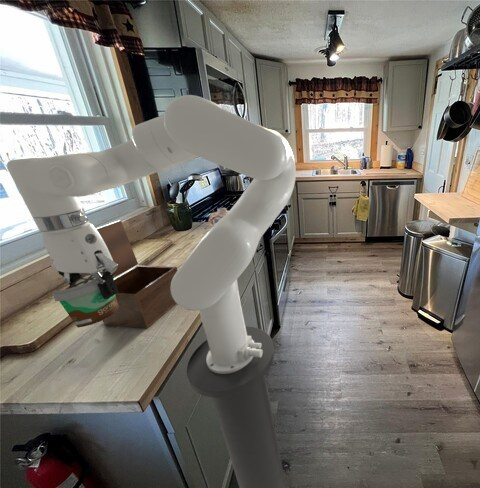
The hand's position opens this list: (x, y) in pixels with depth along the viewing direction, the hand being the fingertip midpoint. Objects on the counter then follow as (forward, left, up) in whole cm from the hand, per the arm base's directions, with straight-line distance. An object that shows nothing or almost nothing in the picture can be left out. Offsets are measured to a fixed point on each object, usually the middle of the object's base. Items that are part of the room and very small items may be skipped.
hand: (97, 294), depth 59 cm
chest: (+13, -21, -20) cm, 32 cm away
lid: (+20, -21, 0) cm, 29 cm away
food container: (0, 0, -5) cm, 5 cm away
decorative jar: (+17, -83, -21) cm, 87 cm away
